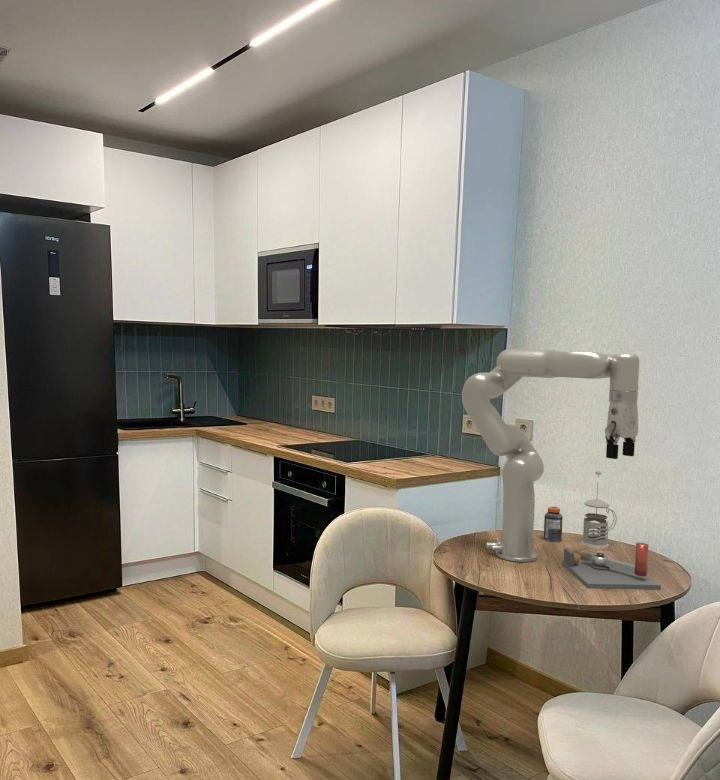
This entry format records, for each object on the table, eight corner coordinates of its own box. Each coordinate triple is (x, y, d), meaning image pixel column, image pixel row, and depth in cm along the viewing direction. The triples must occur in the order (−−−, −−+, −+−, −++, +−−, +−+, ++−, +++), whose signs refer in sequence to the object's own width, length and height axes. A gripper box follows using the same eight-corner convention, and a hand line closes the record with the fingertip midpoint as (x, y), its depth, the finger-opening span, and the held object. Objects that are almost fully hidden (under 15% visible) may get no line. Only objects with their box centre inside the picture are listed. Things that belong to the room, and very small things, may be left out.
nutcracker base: (587, 587, 172) (588, 568, 172) (562, 564, 192) (563, 547, 192) (660, 589, 172) (661, 570, 172) (627, 565, 192) (628, 548, 192)
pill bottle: (549, 536, 223) (550, 504, 223) (564, 540, 219) (566, 507, 218) (540, 539, 219) (541, 506, 219) (556, 543, 215) (557, 510, 214)
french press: (575, 539, 220) (578, 468, 219) (607, 540, 221) (611, 469, 219) (586, 548, 210) (589, 473, 209) (620, 548, 211) (624, 474, 210)
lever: (642, 578, 174) (644, 546, 174) (578, 560, 189) (579, 531, 188) (649, 575, 177) (651, 544, 177) (586, 557, 192) (587, 529, 191)
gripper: (621, 398, 172) (618, 461, 173) (649, 397, 184) (646, 456, 185) (595, 396, 178) (592, 457, 179) (624, 396, 189) (621, 453, 190)
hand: (620, 457), depth 182 cm, fingers open, 9 cm apart
